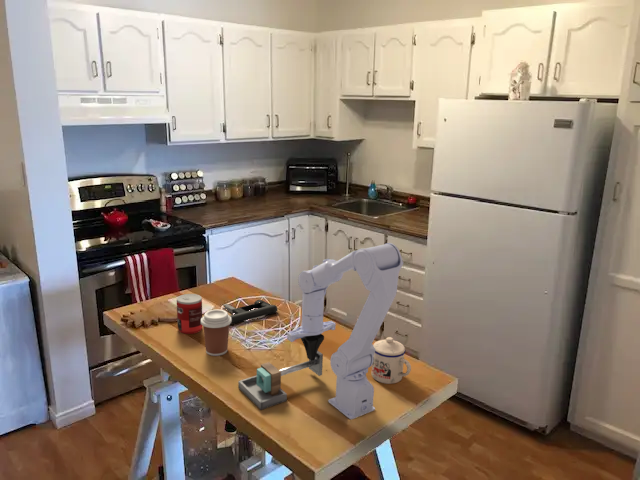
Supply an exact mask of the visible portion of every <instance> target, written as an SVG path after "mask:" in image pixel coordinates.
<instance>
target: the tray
mask: <svg viewBox="0 0 640 480" xmlns="http://www.w3.org/2000/svg"><path fill="white" fill-rule="evenodd" d="M237 383H238V384H237V386H238V389H239V390H240V392H242V393H243V394H244V395H246V397H247V398H248V399H249V400H250V401H251V402H252V403H253V404H254V405H255V406H256V407H257V408H258V409H259V410H261V411H262V410H265V409H268V408H271V407H274V406H276V405H278V404H282V403H285V402H287V400H288V398H287V397H288V393H287V392H285V390H283V389H282V388H281V389H279V394H277V395H274V396H272V395H270V394H269V393H268V392H266V393H265V392H264V391H263V390H262V389H261V388H260V387H259V386H258V385H257V374H256V375H253V376H251V377H250V376H249V377H247V378H244V379H241V380H238V382H237Z"/></svg>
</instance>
